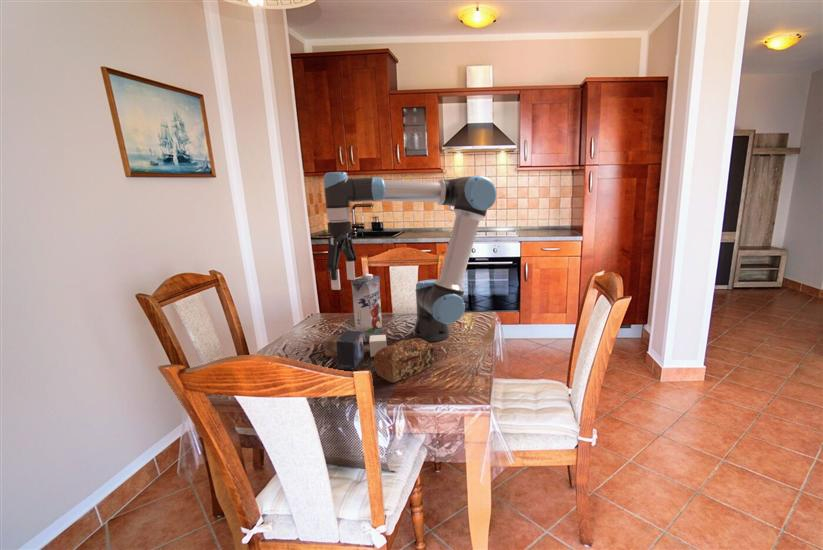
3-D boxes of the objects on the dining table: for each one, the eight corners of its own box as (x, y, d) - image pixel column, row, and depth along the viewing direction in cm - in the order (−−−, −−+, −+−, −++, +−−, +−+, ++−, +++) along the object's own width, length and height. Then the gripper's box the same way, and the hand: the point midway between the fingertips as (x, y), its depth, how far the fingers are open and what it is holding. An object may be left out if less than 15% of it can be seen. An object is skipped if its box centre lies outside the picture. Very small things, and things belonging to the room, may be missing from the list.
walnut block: (347, 351, 149) (346, 336, 148) (338, 357, 144) (337, 342, 143) (333, 349, 151) (332, 334, 150) (325, 355, 146) (323, 340, 145)
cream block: (386, 349, 149) (385, 334, 148) (386, 356, 144) (385, 340, 142) (370, 350, 149) (369, 335, 148) (370, 357, 143) (369, 341, 142)
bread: (393, 385, 122) (391, 355, 120) (373, 374, 130) (371, 346, 128) (436, 366, 134) (435, 339, 132) (415, 357, 142) (414, 331, 139)
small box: (355, 371, 132) (353, 341, 130) (337, 370, 134) (334, 341, 132) (365, 357, 143) (363, 330, 140) (348, 357, 144) (346, 330, 142)
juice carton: (352, 340, 160) (347, 275, 154) (369, 332, 168) (365, 270, 162) (369, 344, 155) (364, 277, 149) (385, 335, 163) (382, 272, 157)
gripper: (342, 218, 141) (347, 275, 145) (310, 225, 117) (317, 293, 122) (362, 217, 139) (366, 276, 144) (334, 224, 115) (340, 294, 120)
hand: (344, 284), depth 133 cm, fingers open, 13 cm apart
